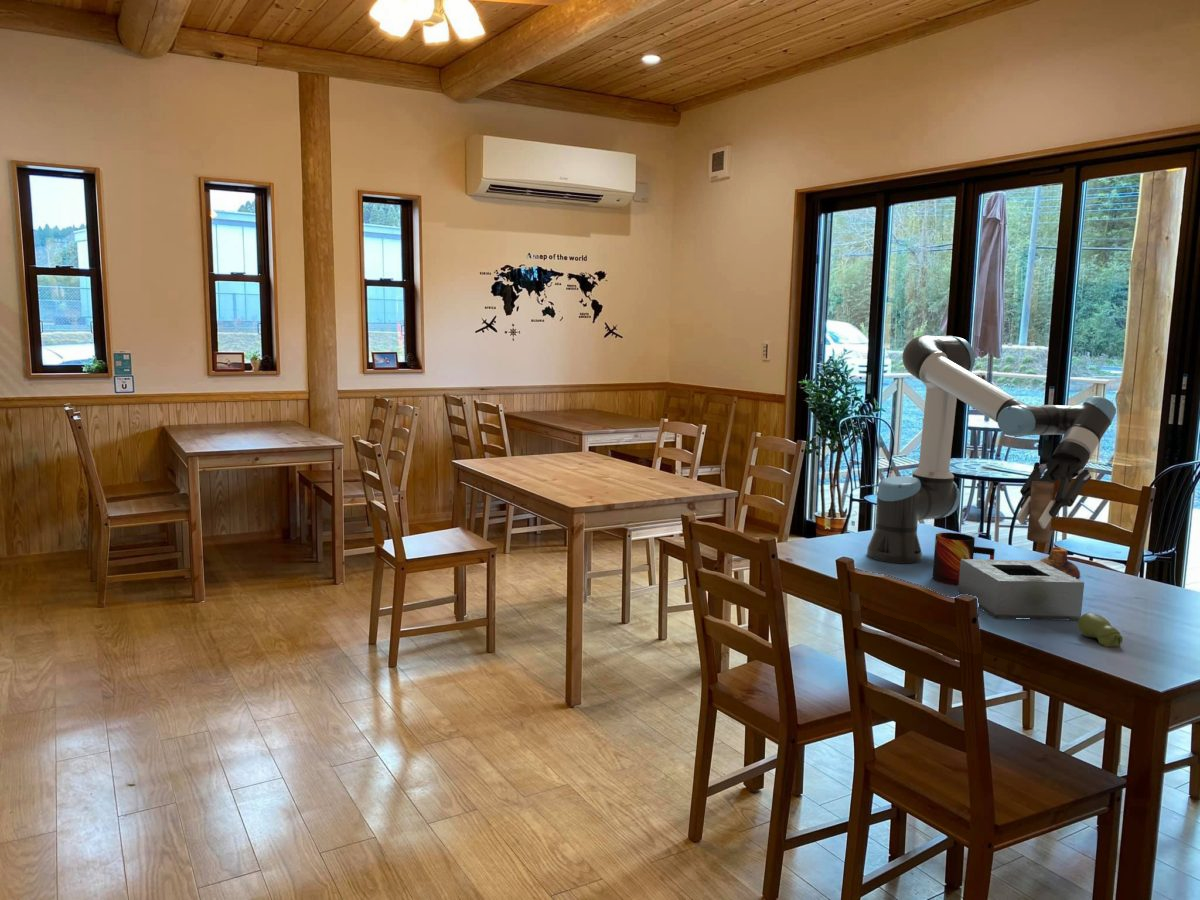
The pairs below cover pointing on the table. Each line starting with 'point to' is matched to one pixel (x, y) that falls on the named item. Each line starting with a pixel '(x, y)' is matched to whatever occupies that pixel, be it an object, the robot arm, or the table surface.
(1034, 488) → the peg
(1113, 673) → the table surface
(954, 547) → the mug
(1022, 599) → the box
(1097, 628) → the pear
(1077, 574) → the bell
